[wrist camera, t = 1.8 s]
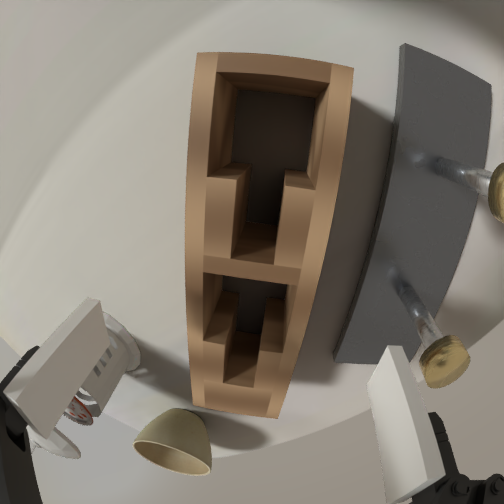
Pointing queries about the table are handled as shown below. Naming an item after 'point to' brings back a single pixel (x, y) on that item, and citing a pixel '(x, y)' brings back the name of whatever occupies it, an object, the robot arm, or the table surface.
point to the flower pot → (176, 443)
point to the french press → (94, 388)
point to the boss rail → (423, 216)
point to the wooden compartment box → (255, 229)
